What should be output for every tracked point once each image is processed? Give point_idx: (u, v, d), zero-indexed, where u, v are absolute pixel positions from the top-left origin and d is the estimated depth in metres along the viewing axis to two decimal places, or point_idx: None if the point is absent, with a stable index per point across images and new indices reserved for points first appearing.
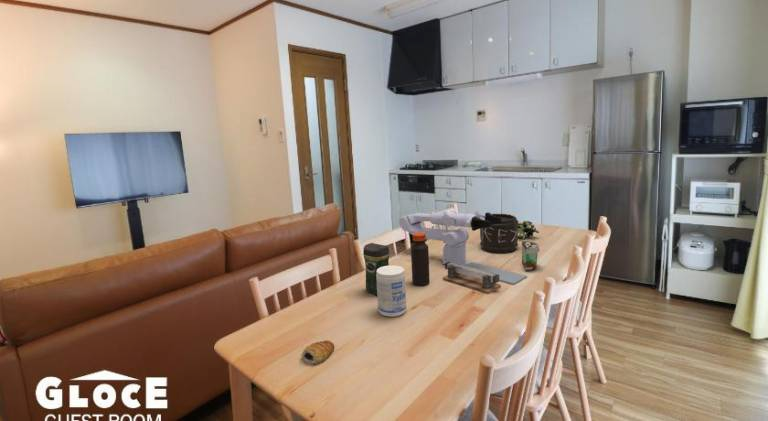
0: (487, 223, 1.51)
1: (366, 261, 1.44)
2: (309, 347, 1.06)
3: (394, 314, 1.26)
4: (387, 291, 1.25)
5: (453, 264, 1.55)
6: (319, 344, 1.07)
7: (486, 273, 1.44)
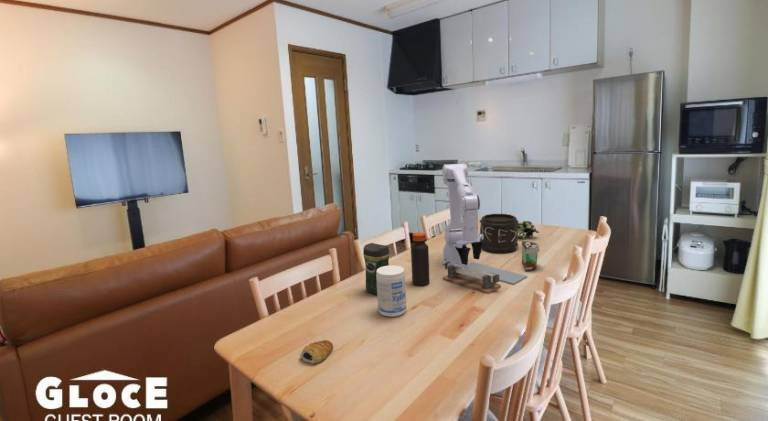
0: (464, 262, 1.45)
1: (366, 261, 1.44)
2: (308, 347, 1.06)
3: (394, 314, 1.26)
4: (387, 291, 1.25)
5: (453, 264, 1.55)
6: (318, 344, 1.07)
7: (486, 273, 1.44)
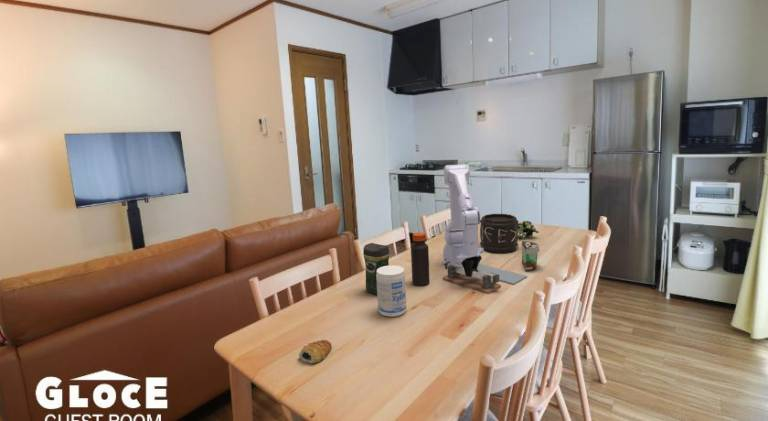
0: (468, 274, 1.48)
1: (366, 261, 1.44)
2: (307, 347, 1.06)
3: (394, 314, 1.26)
4: (387, 291, 1.25)
5: (453, 264, 1.55)
6: (316, 344, 1.07)
7: (486, 273, 1.44)
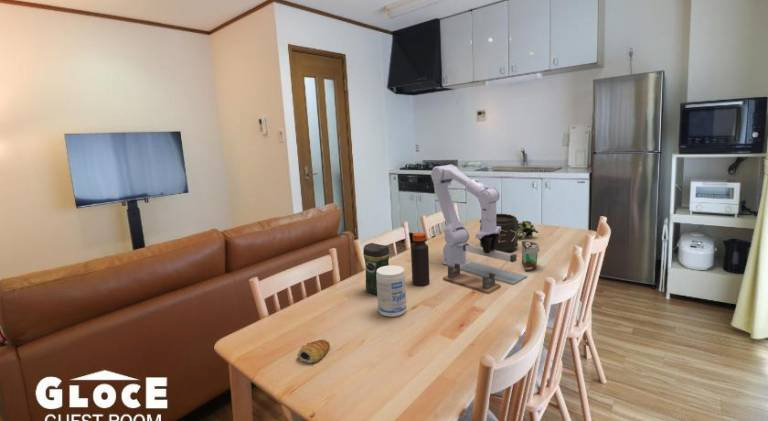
0: (486, 251, 1.55)
1: (366, 261, 1.44)
2: (305, 347, 1.06)
3: (394, 314, 1.26)
4: (387, 291, 1.25)
5: (471, 246, 1.62)
6: (315, 343, 1.07)
7: (504, 253, 1.51)
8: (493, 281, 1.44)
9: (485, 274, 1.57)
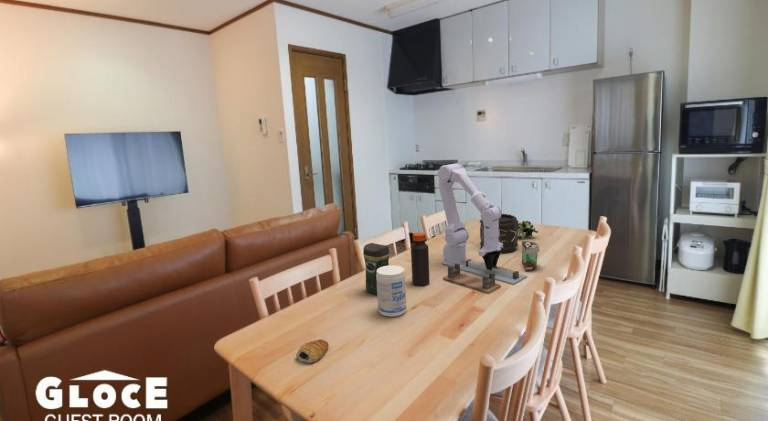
0: (489, 268, 1.57)
1: (366, 261, 1.44)
2: (304, 346, 1.06)
3: (394, 314, 1.26)
4: (387, 291, 1.25)
5: (474, 262, 1.65)
6: (314, 343, 1.08)
7: (506, 270, 1.53)
8: (493, 281, 1.44)
9: (485, 274, 1.57)
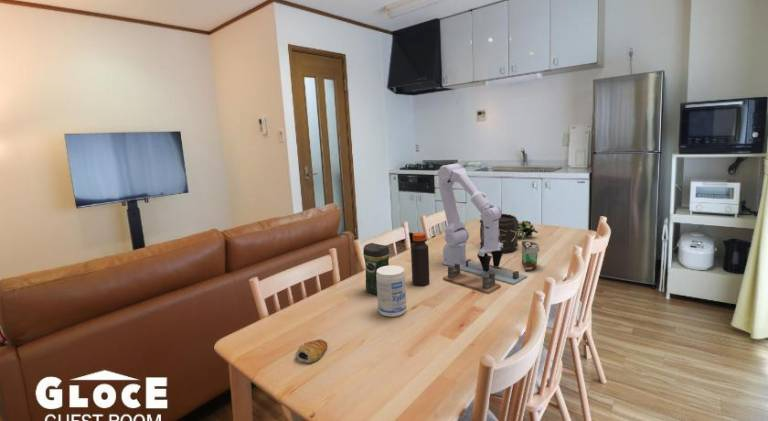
0: (486, 269, 1.56)
1: (366, 261, 1.44)
2: (303, 346, 1.06)
3: (394, 314, 1.26)
4: (387, 291, 1.25)
5: (474, 262, 1.65)
6: (313, 343, 1.08)
7: (506, 270, 1.53)
8: (493, 281, 1.44)
9: (485, 274, 1.57)
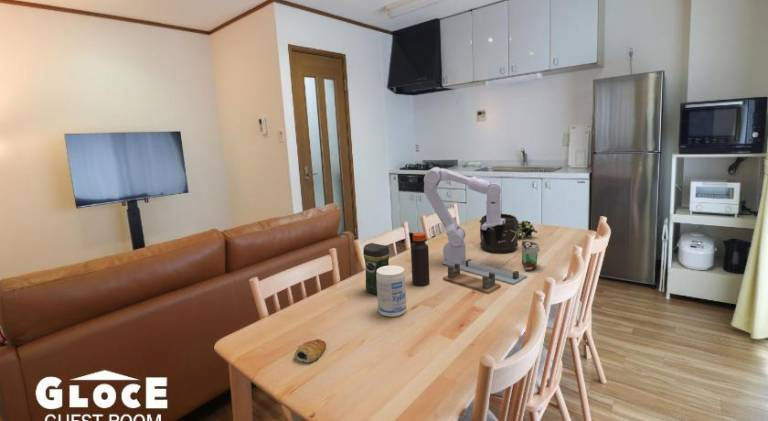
0: (488, 243, 1.62)
1: (366, 261, 1.44)
2: (302, 346, 1.07)
3: (394, 314, 1.26)
4: (387, 291, 1.25)
5: (474, 262, 1.65)
6: (311, 343, 1.08)
7: (506, 270, 1.53)
8: (493, 281, 1.44)
9: (485, 274, 1.57)
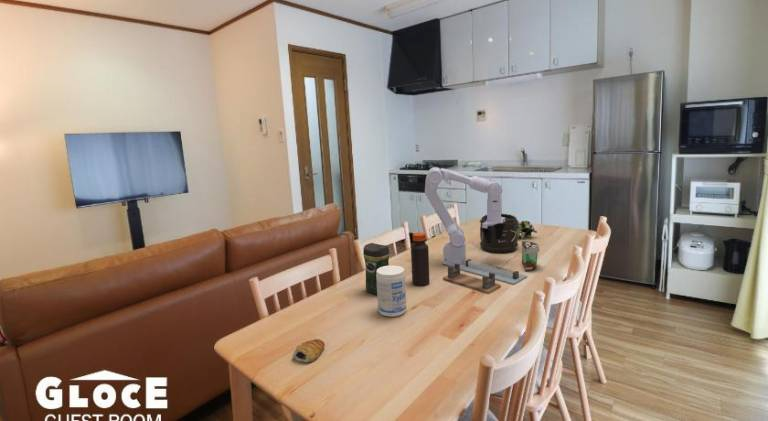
0: (489, 241, 1.64)
1: (366, 261, 1.44)
2: (300, 346, 1.07)
3: (394, 314, 1.26)
4: (387, 291, 1.25)
5: (474, 262, 1.65)
6: (310, 343, 1.08)
7: (506, 270, 1.53)
8: (493, 281, 1.44)
9: (485, 274, 1.57)
